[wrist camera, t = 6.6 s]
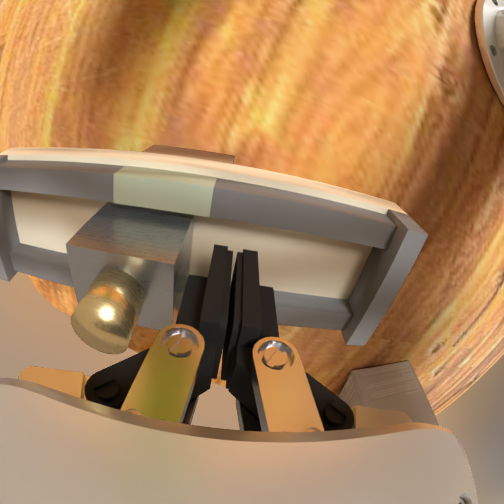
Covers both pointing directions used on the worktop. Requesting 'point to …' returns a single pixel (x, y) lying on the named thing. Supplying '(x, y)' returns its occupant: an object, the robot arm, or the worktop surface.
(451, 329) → the worktop surface
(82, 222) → the stand
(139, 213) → the rider
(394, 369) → the skincare box
